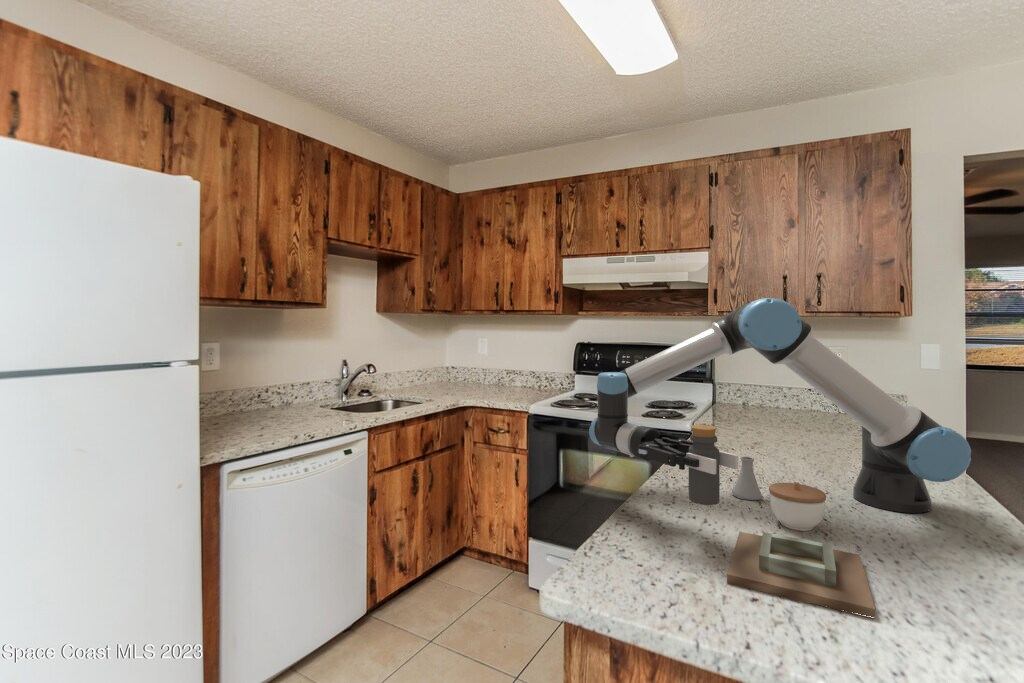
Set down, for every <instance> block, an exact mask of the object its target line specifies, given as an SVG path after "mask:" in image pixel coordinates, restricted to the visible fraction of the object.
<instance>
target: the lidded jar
mask: <svg viewBox="0 0 1024 683" xmlns="http://www.w3.org/2000/svg"><path fill="white" fill-rule="evenodd" d="M768 492H769V504H770V509H771V511H772V513H773V515H774V517H775V518H776V519H777V520H778V521H779V522H780V525H782V526H783V527H785V528H788V529H791V530H795V531H800V532H807V531H812V530H813V528H815V527H816V526H817V525H819V524H820V523H821V521H822V520H823V518H824V515H825V512H826V511H825V510H826V500H827V495H826V493H825V492H824V491H822V490H821V489H819V488H817V487H813V486H811V485H810V486H809V485H806V484H802V483H800V482H799V481H798V482H797V481H794V482H776V483H771V484H770V485H769V486H768Z"/></svg>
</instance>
